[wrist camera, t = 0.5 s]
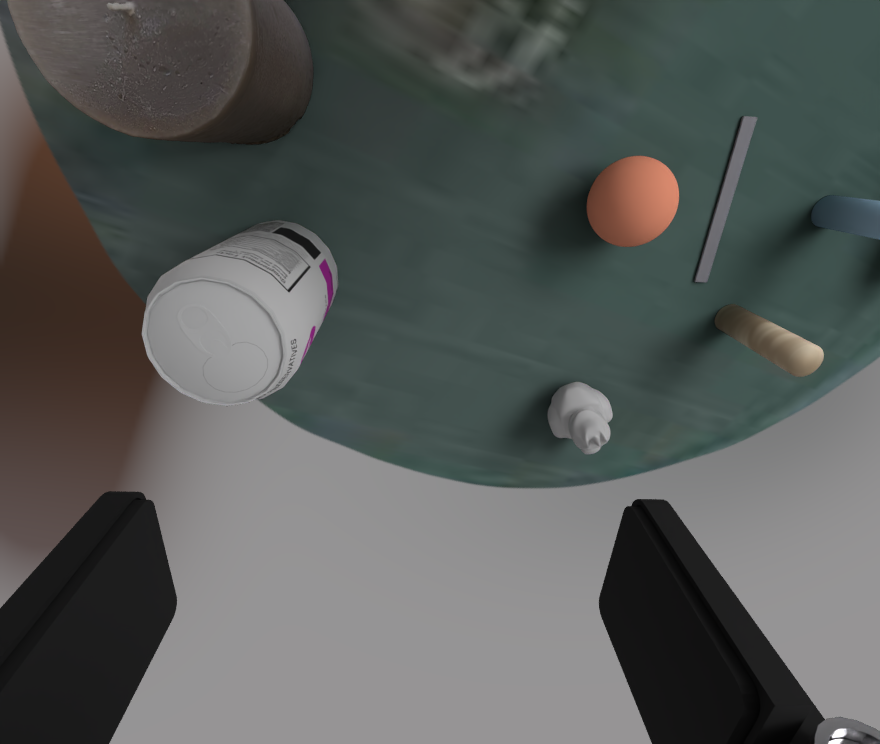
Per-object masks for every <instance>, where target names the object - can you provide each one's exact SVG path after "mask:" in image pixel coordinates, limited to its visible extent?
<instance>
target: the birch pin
mask: <svg viewBox="0 0 880 744" xmlns="http://www.w3.org/2000/svg"><path fill="white" fill-rule="evenodd" d="M715 325H716V327H717V328H718V329H719V330H721V331H723V332H724V333H726V334H727V335H729V336H731V337H732V338H734V339H735V340H737V341H739V342H740V343H742V344H744V345H745V346H747V347H748V348H750V349H752V350H753V351H755V352H756V353H758V354H760V355H761V356H763V357H765V358H766V359H768V360H769V361H771V362H773V363H774V364H776V365H778V366H779V367H781V368H782V369H784V370H786V371H787V372H789V373H790V374H792V375H794V376H798V377H802V376H806V375H809V374H811V373H813V372H814V371H815V370H816V369H817V368H818V367H819V366H820V365H821V363H822V361H823V357H824V354H823V350H822V349H821V348H820V347H819V346H817V345H815V344H813V343H811V342H809V341H807V340H805V339H803V338H801V337H799V336H797V335H795V334H793V333H791V332H789V331H787V330H785V329H783V328H781V327H779V326H777V325H775V324H774V323H772V322H770V321H768V320H766V319H764V318H762V317H760V316H758V315H756V314H754V313H752V312H750V311H748V310H746V309H744V308H742V307H740V306H738V305H735V304H730V305H727V306H724V307H723V308H722V309H720V310H719V311H718V313H717V314H716V317H715Z"/></svg>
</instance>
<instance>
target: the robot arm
mask: <svg viewBox="0 0 880 744" xmlns="http://www.w3.org/2000/svg"><path fill="white" fill-rule="evenodd" d="M176 605H177V597H176V593H175V588H174V584H173V580H172V576H171V572H170V568H169V564H168V560H167V555H166V551H165V547H164V543H163V539H162V535H161V531H160V527H159V523H158V518H157V514H156V510H155V506H154V503H153V502H152V501H151V500H146V498H145V496H144V494H143V493H141V492H111V491H110V492H106V493H104V494H103V495H102V496H101V497H100V498H99V499H98V500H97V501H96V502H95V503H94V504H93V505H92V507H91V508H90V509H89V510H88V511H87V512H86V513H85V514H84V516H83V517H82V518H81V519H80V520H79V521H78V522H77V523H76V524H75V526H74V527H73V528H72V529H71V530H70V531H69V532H68V533H67V535H66V536H65V537H64V538H63V539H62V540H61V541H60V543H58V545H57V546H56V547H55V548H54V549H53V550H52V551H51V552H50V553H49V555H48V556H47V557H46V558H45V559H44V560H43V562H41V564H40V565H39V566H38V567H37V568H36V569H35V570H34V571H33V572H32V574H31V575H30V576H29V577H28V578H27V579H26V580H25V581H24V583H23V584H22V585H21V586H20V587H19V588H18V589H17V590H16V592H15V593H14V594H13V595H12V596H11V597H10V598H9V599H8V600H7V601H6V603H5V604H4V605H3V606H2V607H1V608H0V744H109V743H110V741H111V739H112V737H113V735H114V733H115V731H116V729H117V727H118V725H119V723H120V721H121V719H122V717H123V715H124V713H125V711H126V709H127V707H128V705H129V703H130V701H131V700H132V697H133V695H134V694H135V691H136V690H137V688H138V686H139V684H140V682H141V680H142V678H143V676H144V674H145V672H146V670H147V668H148V666H149V664H150V662H151V660H152V658H153V656H154V654H155V652H156V651H157V649H158V647H159V645H160V643H161V641H162V639H163V637H164V635H165V633H166V631H167V629H168V627H169V625H170V623H171V621H172V619H173V617H174V614H175V611H176ZM599 609H600V614H601V617H602V620H603V622H604V625H605V627H606V630H607V632H608V635H609V637H610V640H611V642H612V645H613V647H614V650H615V652H616V654H617V657H618V660H619V662H620V664H621V667H622V669H623V672H624V674H625V677H626V679H627V682H628V685H629V687H630V689H631V692H632V695H633V697H634V700H635V702H636V705H637V707H638V710H639V712H640V715H641V717H642V720H643V722H644V725H645V727H646V730H647V732H648V735H649V737H650V739H651V742H652V744H880V731H878V730H877V729H875V728H873V727H871V726H868V725H866V724H864V723H862V722H859V721H857V720H853V719H848V718H843V717H835V718H828V719H826V720H825V719H824V718H823V717H822V715H821V713H820V712H819V711H818V710H817V708H816V706H815V705H814V704H813V702H812V701H811V700H810V698H809V697H808V695H807V694H806V693H805V691H804V690H803V688H802V687H801V686H800V684H799V683H798V681H797V680H796V679H795V677H794V676H793V674H792V673H791V672H790V670H789V669H788V668H787V666H786V665H785V663H784V662H783V661H782V659H781V658H780V657H779V655H778V654H777V652H776V651H775V649H774V648H773V647H772V645H771V644H770V643H769V641H768V640H767V638H766V637H765V636H764V634H763V633H762V631H761V630H760V629H759V627H758V626H757V624H756V623H755V622H754V620H753V619H752V618H751V616H750V615H749V613H748V612H747V610H746V609H745V608H744V607H743V605H742V604H741V602H740V601H739V599H738V598H737V597H736V595H735V594H734V592H733V591H732V590H731V589H730V587H729V585H728V584H727V583H726V581H725V580H724V579H723V577H722V576H721V575H720V573H719V572H718V570H717V569H716V568H715V566H714V565H713V564H712V562H711V561H710V559H709V558H708V557H707V555H706V554H705V552H704V551H703V550H702V548H701V547H700V545H699V544H698V543H697V541H696V540H695V538H694V537H693V536H692V534H691V533H690V532H689V530H688V529H687V527H686V526H685V525H684V523H683V522H682V520H681V519H680V518H679V517H678V515H677V513H676V512H675V511H674V509H673V508H672V507H671V505H670V504H669V503H668V502H667V501H665V500H656V499H655V500H654V499H653V500H652V499H637V500H635V501H634V502H633V503H632V506H628V507H626V508H625V510H624V512H623V516H622V519H621V523H620V527H619V530H618V533H617V537H616V540H615V544H614V548H613V551H612V555H611V558H610V562H609V565H608V569H607V572H606V576H605V580H604V583H603V587H602V590H601V593H600V597H599Z"/></svg>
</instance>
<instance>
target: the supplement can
mask: <svg viewBox="0 0 880 744" xmlns="http://www.w3.org/2000/svg"><path fill="white" fill-rule="evenodd" d="M337 288H338V274H337V266H336V263H335V261H334V259H333V256H332V254H331V252H330V250H329V248H328V247H327V246H326V245H325V244H324V243H323V241H322V240H321V239H320V238H319V237H318V236H317V235H316V234H315V233H313V232H311V231H310V230H308V229H306V228H304V227H303V226H301V225H299V224H297V223H292V222H286V221H281V220H274V221H268V222H262V223H258V224H256V225H254V226H252V227H250V228H248V229H247V230H245V231H243V232H241V233H239V234H237V235H235V236H233V237H231V238H229V239H227V240H225V241H223V242H221V243H219V244H217V245H215V246H213V247H211V248H210V249H208V250H206V251H204V252H202V253H200V254H198V255H196V256H194V257H192V258H190V259H188V260H186V261H184V262H182V263H181V264H179V265H178V266H176V267H174V268H173V269H171V270H170V271H168V272H166V273H165V274H163V275H162V276H161V277H160V278H159V280H158V281H157V283H156V284H155V286H154V288H153V289H152V291H151V292H150V294H149V295H148V297H147V304H146V311H145V314H144V322H143V328H142V337H143V341H144V345H145V349H146V353H147V356H148V358H149V360H150V361H151V362H152V364H153V365H154V367H155V368H156V370H157V371H158V373H159V374H160V376H161V377H162V378H163V379H164V380H166V381H167V382H168V383H169V384H170V385H172V386H173V387H174V388H175V389H177V390H178V391H179V392H180V393H182V394H185V395H187V396H189V397H191V398H194V399H196V400H198V401H200V402H203V403H208V404H216V405H222V406H230V405H236V404H243V403H249V402H250V401H252V400H257V399H263V398H264V397H266V396H268V395H270V394H272V393H274V392H276V391H277V390H279V389H281V388H283V387H284V386H285V384H286V383H287V382H288V381H289V380H290V378H291V377H292V376H293V375H294V374H295V372H296V371H297V370H298V368H299V366H300V364H301V362H302V360H303V358H304V356H305V355H306V353H307V351H308V349H309V347H310V345H311V343H312V341H313V339H314V337H315V335H316V334H317V332H318V330H319V328H320V326H321V324H322V322H323V320H324V318H325V316H326V314H327V312H328V311H329V309H330V307H331V305H332V303H333V301H334V297H335V294H336V291H337Z"/></svg>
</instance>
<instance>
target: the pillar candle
mask: <svg viewBox="0 0 880 744" xmlns="http://www.w3.org/2000/svg"><path fill="white" fill-rule="evenodd" d="M7 2H8V7H9V10H10V13H11V16H12V19H13V21H14V24H15V27H16V30H17V32H18V34H19V36H20V39H21V41H22V42H23V44H24V46H25V47H26V49H27V51H28V53H29V55H30V56H31V58H32V59H33V61H34V62H35V64H36V65H37V67H38V68H39V70H40V72H41V73H42V74H43V76H44V77H45V78H46V80H47V81H48V82H49V83H50V84H51V86H52V87H54V88H55V89H56V90H57V91H58V92H59V93H60V94H61V95H62V96H63V97H64V98H65V99H66V100H67V101H69V102H70V103H71V104H72V105H73V106H75V107H76V108H78V109H79V110H80V111H82V112H83V113H85V114H86V115H88V116H90V117H91V118H93V119H94V120H96V121H98V122H100V123H102V124H104V125H105V126H107V127H110V128H112V129H114V130H117V131H119V132H122V133H125V134H127V135H130V136H133V137H141V138H148V139H156V140H167V141H184V142H206V143H215V142H227V143H231V144H234V143H237V144H251V145H253V144H263V143H268V142H271V141H274V140H277V139H279V138H281V137H282V136H285V135H286V134H288V132H289V131H290V129H291V127H292V126H293V125H294V124H295V123H296V121H297V120H298V119H301V118H302V116H303V115H304V113H305V110H306V108H307V106H308V103H309V100H310V97H311V93H312V87H313V61H312V55H311V49H310V46H309V43H308V39H307V37H306V34H305V32H304V30H303V28H302V26H301V24H300V22H299V20H298V19H297V17H296V15H295V14H294V13H293V11H292V9H291V8H290V7H289V6H288V4H287V3H286V2H285V1H284V0H7Z"/></svg>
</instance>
